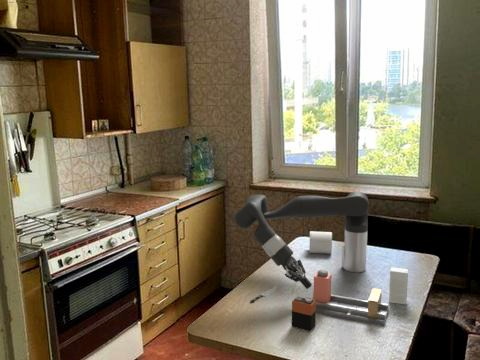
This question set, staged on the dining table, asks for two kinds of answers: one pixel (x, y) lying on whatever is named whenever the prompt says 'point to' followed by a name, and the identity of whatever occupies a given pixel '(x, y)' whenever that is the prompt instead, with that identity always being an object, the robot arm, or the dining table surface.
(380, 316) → the rail
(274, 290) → the chef's knife
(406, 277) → the skincare box
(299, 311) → the battery
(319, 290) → the pink dome-topped pillar
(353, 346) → the dining table surface
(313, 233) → the toilet paper
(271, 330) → the dining table surface
